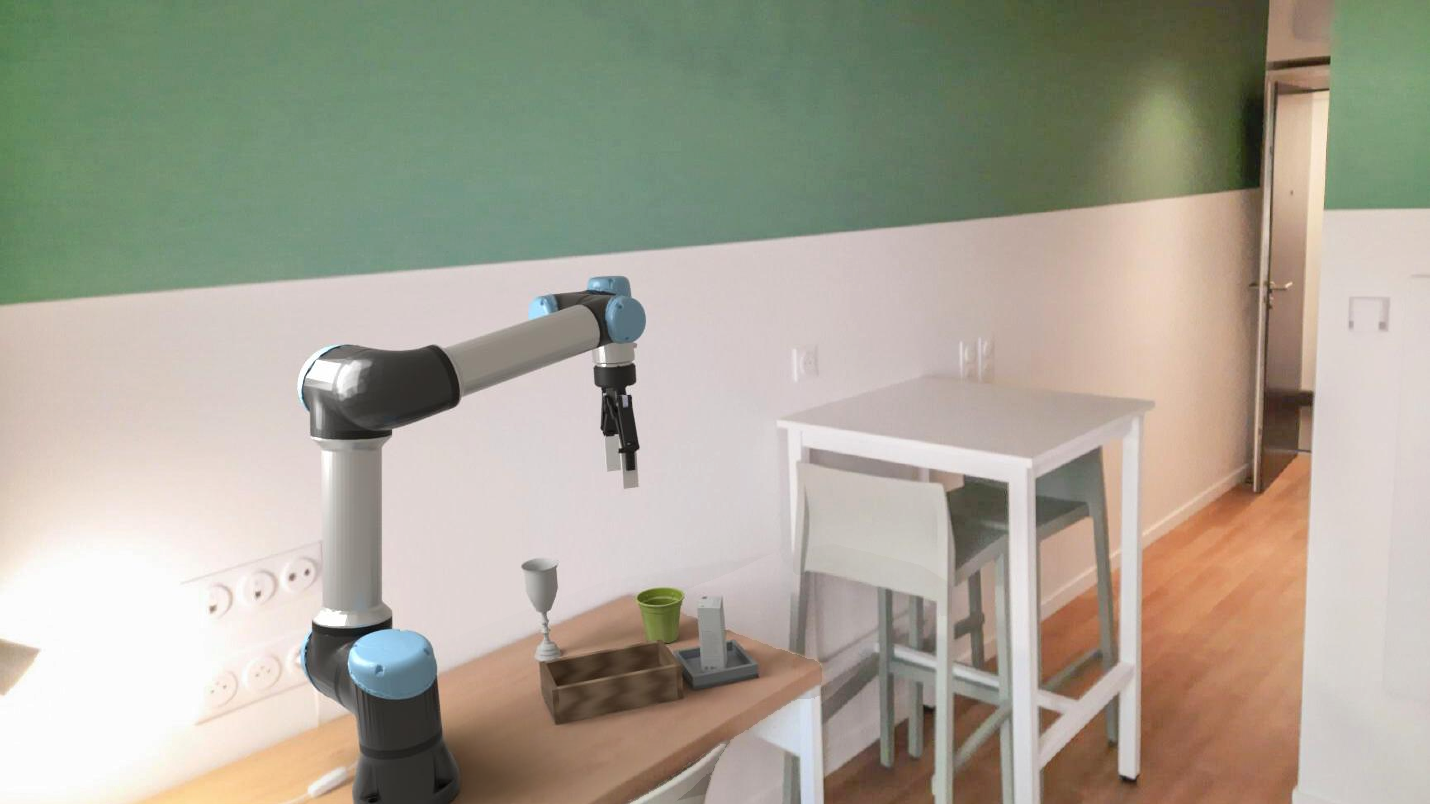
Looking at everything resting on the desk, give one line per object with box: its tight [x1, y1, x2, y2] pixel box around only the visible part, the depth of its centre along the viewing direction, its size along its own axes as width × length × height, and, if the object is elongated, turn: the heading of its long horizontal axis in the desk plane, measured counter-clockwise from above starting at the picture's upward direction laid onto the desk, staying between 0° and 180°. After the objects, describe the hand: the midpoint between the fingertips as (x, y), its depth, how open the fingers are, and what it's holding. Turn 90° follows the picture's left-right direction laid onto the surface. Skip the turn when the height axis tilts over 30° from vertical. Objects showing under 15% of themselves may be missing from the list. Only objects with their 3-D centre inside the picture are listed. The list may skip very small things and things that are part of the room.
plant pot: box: [635, 586, 685, 644], centre depth 208 cm, size 9×9×9 cm
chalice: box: [520, 557, 562, 662], centre depth 202 cm, size 7×7×18 cm
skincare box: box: [696, 595, 728, 673], centre depth 193 cm, size 6×4×12 cm
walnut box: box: [538, 639, 684, 725], centre depth 185 cm, size 22×12×6 cm, turn 109°
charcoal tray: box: [672, 639, 760, 692], centre depth 193 cm, size 12×12×2 cm
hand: (621, 478), depth 197 cm, fingers open, 13 cm apart
